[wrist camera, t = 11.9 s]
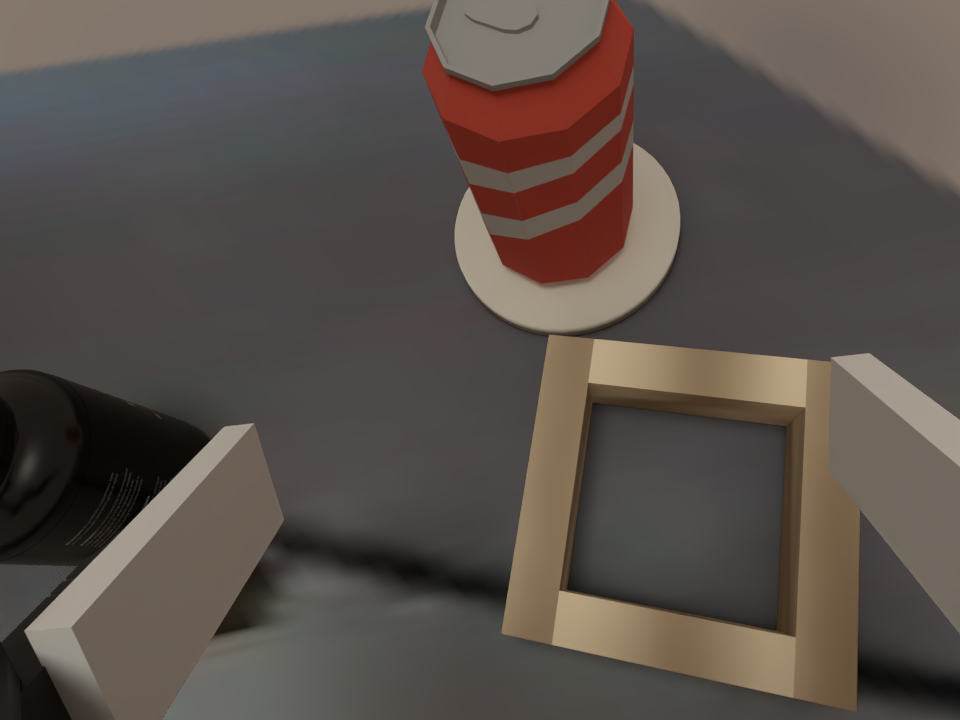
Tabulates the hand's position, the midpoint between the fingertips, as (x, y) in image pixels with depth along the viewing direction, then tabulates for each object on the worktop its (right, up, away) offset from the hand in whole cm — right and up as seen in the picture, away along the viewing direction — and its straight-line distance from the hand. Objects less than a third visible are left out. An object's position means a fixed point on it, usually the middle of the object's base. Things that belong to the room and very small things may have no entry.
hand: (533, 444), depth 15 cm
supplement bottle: (-16, -4, +16) cm, 23 cm away
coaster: (+3, +8, +15) cm, 17 cm away
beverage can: (+2, +8, +14) cm, 16 cm away
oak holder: (+6, -4, +10) cm, 13 cm away
